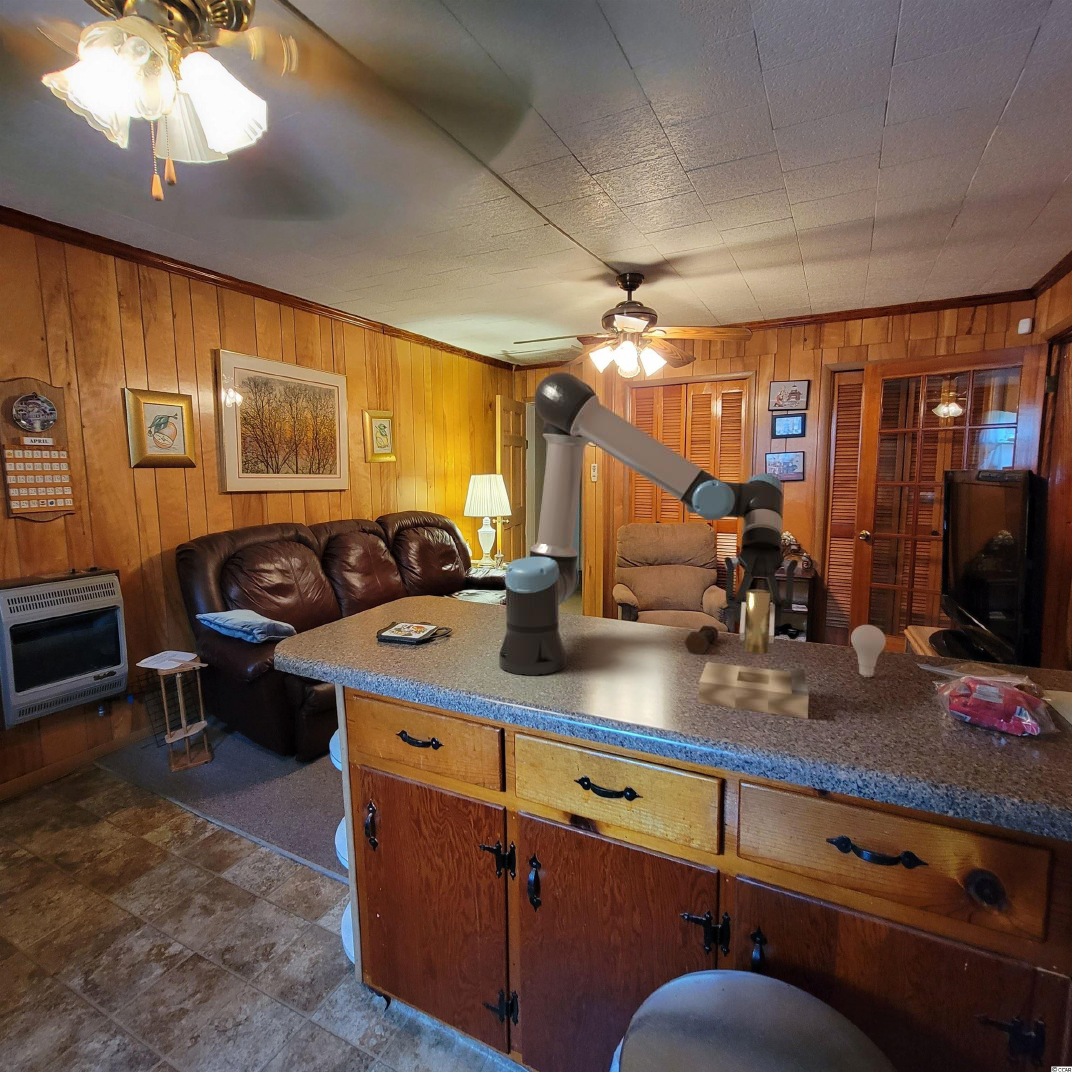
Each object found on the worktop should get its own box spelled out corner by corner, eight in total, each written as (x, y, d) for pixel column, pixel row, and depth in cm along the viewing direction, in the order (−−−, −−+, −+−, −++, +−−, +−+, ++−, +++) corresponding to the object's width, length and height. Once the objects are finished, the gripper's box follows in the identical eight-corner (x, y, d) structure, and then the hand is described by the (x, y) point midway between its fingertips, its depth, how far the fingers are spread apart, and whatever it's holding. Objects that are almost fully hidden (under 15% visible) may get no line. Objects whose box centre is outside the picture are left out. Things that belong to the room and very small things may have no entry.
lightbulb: (854, 670, 118) (856, 620, 117) (887, 677, 114) (890, 625, 112) (845, 677, 114) (847, 625, 113) (878, 685, 109) (881, 630, 108)
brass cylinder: (744, 652, 101) (745, 593, 100) (745, 645, 105) (746, 588, 103) (769, 654, 99) (770, 595, 98) (769, 647, 103) (770, 590, 102)
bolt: (714, 646, 142) (698, 660, 130) (698, 634, 144) (680, 647, 132) (727, 628, 140) (711, 641, 128) (709, 616, 143) (693, 627, 130)
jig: (698, 702, 101) (699, 677, 101) (706, 681, 112) (707, 658, 112) (807, 718, 94) (808, 691, 93) (804, 694, 105) (805, 669, 104)
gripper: (807, 550, 111) (809, 653, 97) (718, 547, 118) (707, 643, 104) (810, 525, 105) (811, 631, 92) (716, 524, 112) (704, 622, 99)
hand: (756, 637), depth 98 cm, fingers closed on brass cylinder, 4 cm apart
